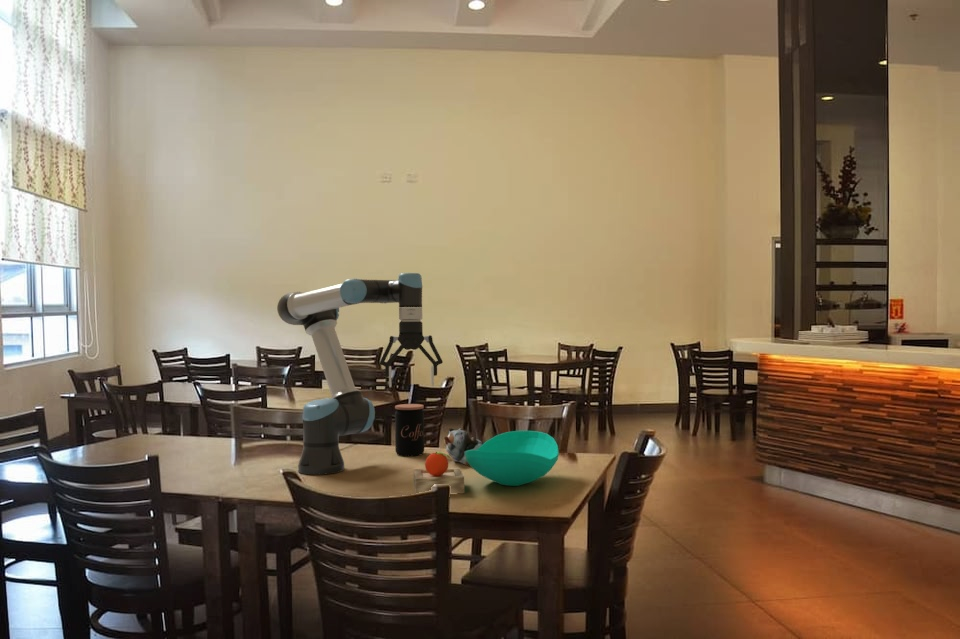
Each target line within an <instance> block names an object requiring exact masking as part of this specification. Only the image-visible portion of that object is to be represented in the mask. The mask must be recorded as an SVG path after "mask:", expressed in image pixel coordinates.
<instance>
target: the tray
mask: <svg viewBox="0 0 960 639" xmlns="http://www.w3.org/2000/svg"><path fill="white" fill-rule="evenodd" d="M434 484H449V485H450V486H451V493H464V494H465V476H464V474H463V472H462V470H461V468H460V467H448V468H447V471H446V472H445V473H444V474H443V475H440V476H433V475H431V474H429V473H428V472H427V470H426V468H414V469H413V485H414V493H415V494H416V493H419V492H425V491H429V490H431V487H432V486H433V485H434Z"/></svg>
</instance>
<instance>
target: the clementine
mask: <svg viewBox="0 0 960 639" xmlns="http://www.w3.org/2000/svg"><path fill="white" fill-rule="evenodd" d="M446 456H447V457H448V458H449V459H450V460H452V457H451V456H450V455H449V454H446V453H444V452H437V451H435V452H433V453H431V454H430V455H428V456H427V457H426V459H425V464H424V467H425V468H424V469H426V470H427V472H428V473H429V474H431V475H433V476H440V475H443V474H444V473H445V472H446V471H447V468H449V460H448V458H447V457H446Z"/></svg>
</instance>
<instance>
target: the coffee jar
mask: <svg viewBox="0 0 960 639" xmlns="http://www.w3.org/2000/svg"><path fill="white" fill-rule="evenodd" d="M424 408H425V407H424V404H420V403H404V404H397V405H395V406H394V409H395V410H396V411H395V413H394V420H395V421H394V425H395V426H394V427H395V428H394V430H395V434H394V436H395V438H394V439H395V453H396V454H397V456H401V457H417V456H421V455H423V454H424V452H425V412H424V410H423V409H424Z"/></svg>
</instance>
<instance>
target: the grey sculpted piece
mask: <svg viewBox="0 0 960 639" xmlns="http://www.w3.org/2000/svg"><path fill="white" fill-rule="evenodd" d="M469 435H470V434H469V433H468V432H467V431H466V430H463V428H458V429H457V430H456V429H454V428H451V427H450V428H448V434H447V436H444V438H443V439H444V442H443V444H444V447H445V449H446V450H445V451H446V452H447V453H448V456H449V457H451V459H452V460H453V462H458V463H461V464H464V465H466V466H467V467H468V466H469V467H471V466H470V465H469V463H468V462H467V460H466V457H465V452H466V451H467V450H477V449H478V448H479V447H480V446H481V445H483V444H484V443H483V442H482V441H481V440H480V439H477V438H475V437H474V436H473V437H470V436H469Z"/></svg>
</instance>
